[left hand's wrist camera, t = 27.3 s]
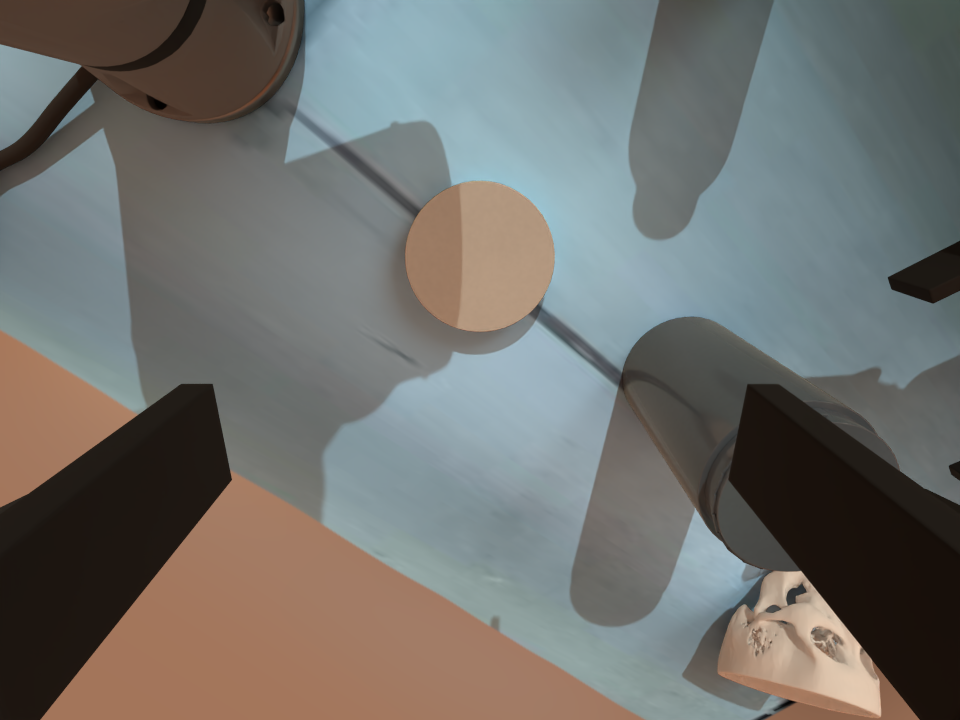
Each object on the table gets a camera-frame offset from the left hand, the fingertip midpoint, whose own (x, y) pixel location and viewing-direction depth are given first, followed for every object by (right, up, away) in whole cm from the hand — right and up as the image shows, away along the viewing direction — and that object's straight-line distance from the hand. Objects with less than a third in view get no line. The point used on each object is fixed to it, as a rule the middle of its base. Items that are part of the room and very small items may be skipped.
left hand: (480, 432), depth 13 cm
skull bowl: (+29, -23, +38) cm, 53 cm away
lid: (0, +9, +25) cm, 26 cm away
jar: (+17, +1, +29) cm, 34 cm away
